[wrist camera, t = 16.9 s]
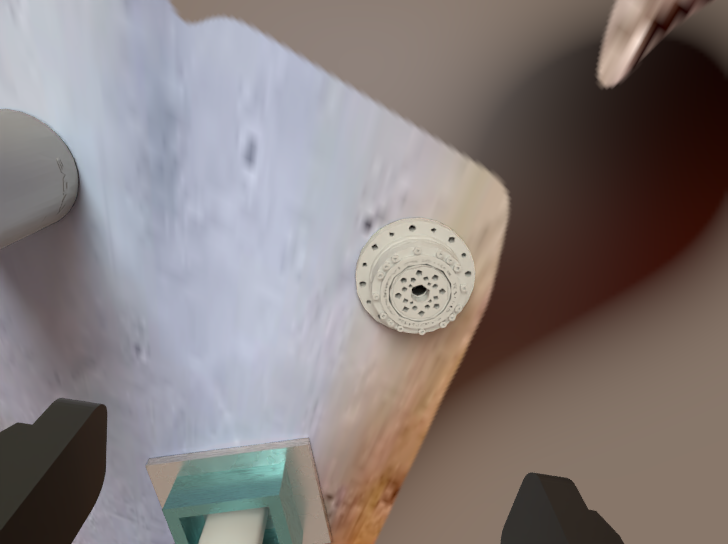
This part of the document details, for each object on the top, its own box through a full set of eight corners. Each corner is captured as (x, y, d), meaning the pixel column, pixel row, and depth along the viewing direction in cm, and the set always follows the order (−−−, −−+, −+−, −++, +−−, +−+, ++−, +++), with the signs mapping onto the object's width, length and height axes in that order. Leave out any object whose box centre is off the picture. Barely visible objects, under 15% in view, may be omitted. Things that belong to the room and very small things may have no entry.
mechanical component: (331, 281, 43) (417, 345, 45) (329, 302, 39) (424, 371, 41) (408, 192, 40) (495, 265, 43) (415, 205, 36) (510, 285, 39)
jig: (185, 552, 54) (169, 597, 49) (149, 458, 49) (128, 498, 45) (331, 534, 53) (329, 578, 49) (308, 437, 49) (303, 475, 44)
